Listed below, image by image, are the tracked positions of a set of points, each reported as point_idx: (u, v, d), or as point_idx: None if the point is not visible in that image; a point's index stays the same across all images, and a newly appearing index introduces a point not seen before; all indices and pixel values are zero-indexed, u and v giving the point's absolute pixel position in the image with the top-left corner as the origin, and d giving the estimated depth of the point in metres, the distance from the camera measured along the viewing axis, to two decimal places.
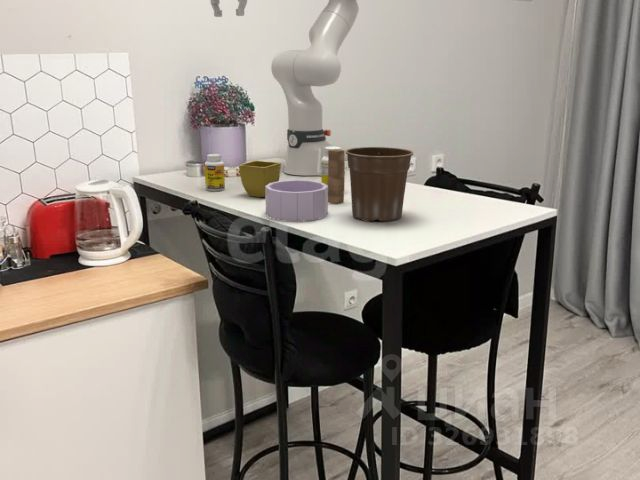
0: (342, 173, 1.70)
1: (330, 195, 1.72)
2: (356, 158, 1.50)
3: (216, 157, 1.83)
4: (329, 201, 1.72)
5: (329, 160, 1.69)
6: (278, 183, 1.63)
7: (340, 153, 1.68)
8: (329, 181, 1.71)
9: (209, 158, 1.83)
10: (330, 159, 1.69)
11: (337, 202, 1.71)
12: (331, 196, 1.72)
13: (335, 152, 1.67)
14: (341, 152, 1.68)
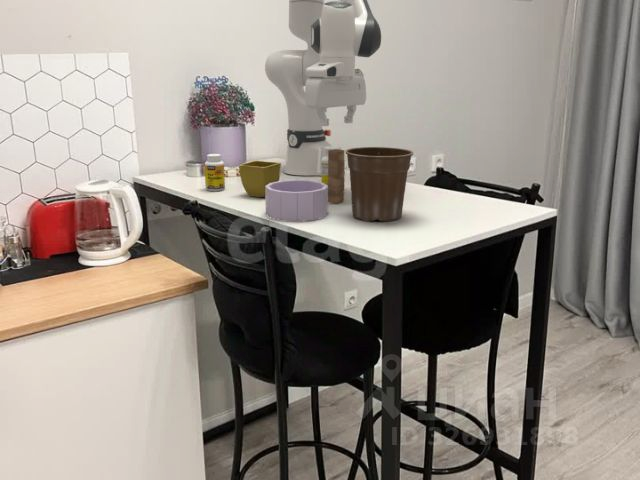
0: (342, 173, 1.70)
1: (330, 195, 1.72)
2: (356, 158, 1.50)
3: (216, 157, 1.83)
4: (329, 201, 1.72)
5: (329, 160, 1.69)
6: (278, 183, 1.63)
7: (340, 153, 1.68)
8: (329, 181, 1.71)
9: (209, 158, 1.83)
10: (330, 159, 1.69)
11: (337, 202, 1.71)
12: (331, 196, 1.72)
13: (335, 152, 1.67)
14: (341, 152, 1.68)
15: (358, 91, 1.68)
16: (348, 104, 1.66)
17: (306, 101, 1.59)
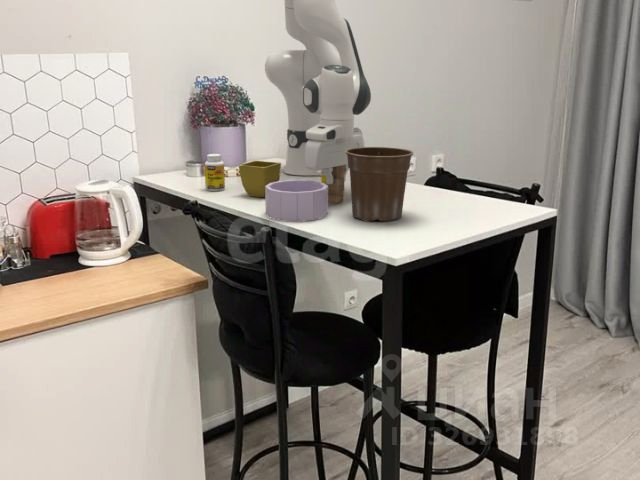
0: (342, 173, 1.70)
1: (330, 195, 1.72)
2: (356, 158, 1.50)
3: (216, 157, 1.83)
4: (329, 201, 1.72)
5: None
6: (278, 183, 1.63)
7: None
8: None
9: (209, 158, 1.83)
10: None
11: (337, 202, 1.71)
12: (331, 196, 1.72)
13: None
14: None
15: None
16: (347, 163, 1.71)
17: (306, 163, 1.63)
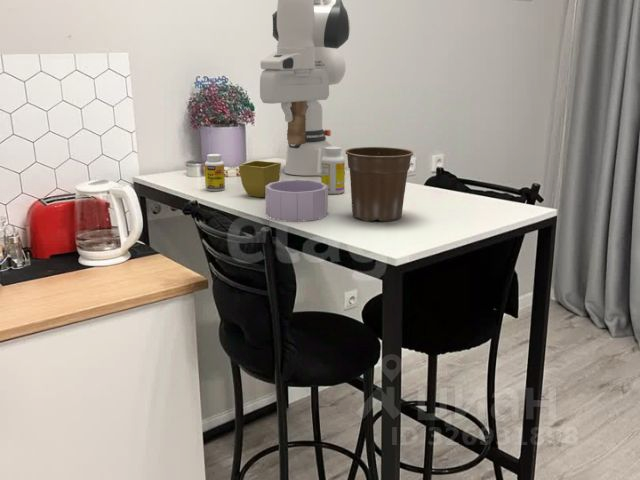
0: (303, 110, 1.53)
1: (290, 135, 1.55)
2: (356, 158, 1.50)
3: (216, 157, 1.83)
4: (289, 142, 1.55)
5: None
6: (278, 183, 1.63)
7: None
8: None
9: (209, 158, 1.83)
10: None
11: (298, 143, 1.54)
12: (291, 136, 1.55)
13: None
14: None
15: (320, 85, 1.56)
16: (308, 99, 1.54)
17: (261, 95, 1.46)
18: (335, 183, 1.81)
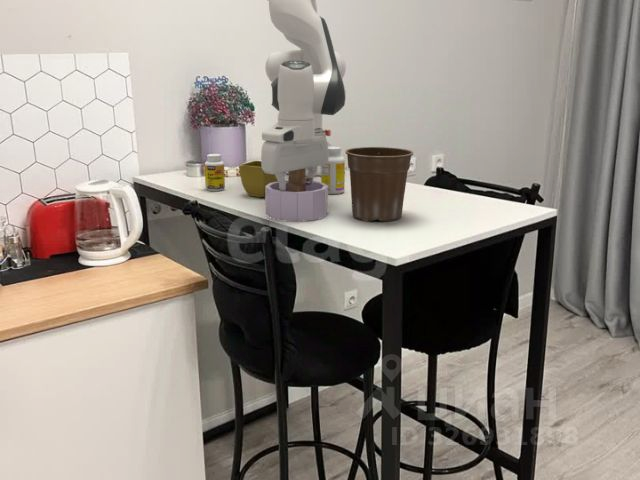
0: (303, 179, 1.58)
1: None
2: (356, 158, 1.50)
3: (216, 157, 1.83)
4: None
5: None
6: (278, 183, 1.63)
7: None
8: (289, 188, 1.59)
9: (209, 158, 1.83)
10: None
11: None
12: None
13: None
14: None
15: (319, 152, 1.60)
16: (308, 166, 1.58)
17: (262, 166, 1.51)
18: (335, 183, 1.81)
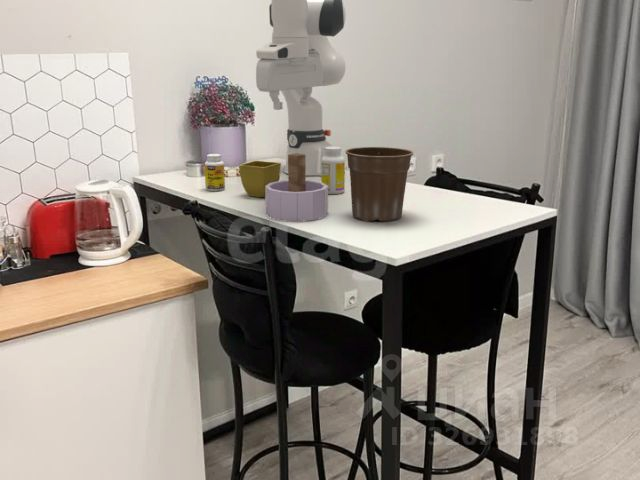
0: (303, 179, 1.58)
1: None
2: (356, 158, 1.50)
3: (216, 157, 1.83)
4: None
5: (289, 165, 1.57)
6: (278, 183, 1.63)
7: (301, 157, 1.56)
8: (289, 188, 1.59)
9: (209, 158, 1.83)
10: (290, 164, 1.57)
11: None
12: None
13: (295, 157, 1.55)
14: (302, 156, 1.56)
15: (313, 72, 1.62)
16: (303, 86, 1.60)
17: (257, 84, 1.53)
18: (335, 183, 1.81)
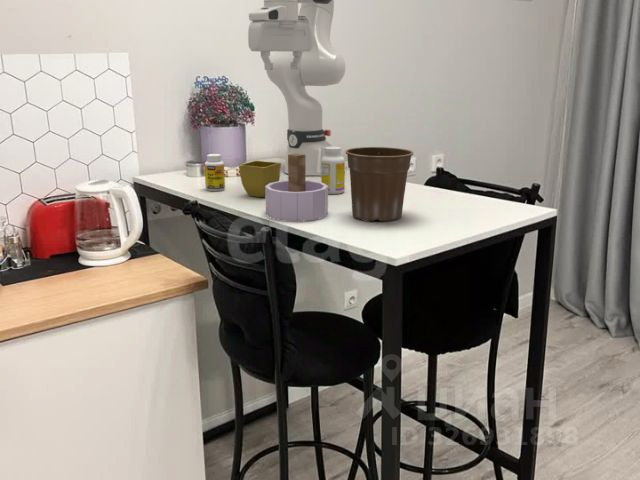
0: (303, 179, 1.58)
1: None
2: (356, 158, 1.50)
3: (216, 157, 1.83)
4: None
5: (289, 165, 1.57)
6: (278, 183, 1.63)
7: (301, 157, 1.56)
8: (289, 188, 1.59)
9: (209, 158, 1.83)
10: (290, 164, 1.57)
11: None
12: None
13: (295, 157, 1.55)
14: (302, 156, 1.56)
15: (303, 37, 1.72)
16: (293, 49, 1.70)
17: (249, 44, 1.63)
18: (335, 183, 1.81)
